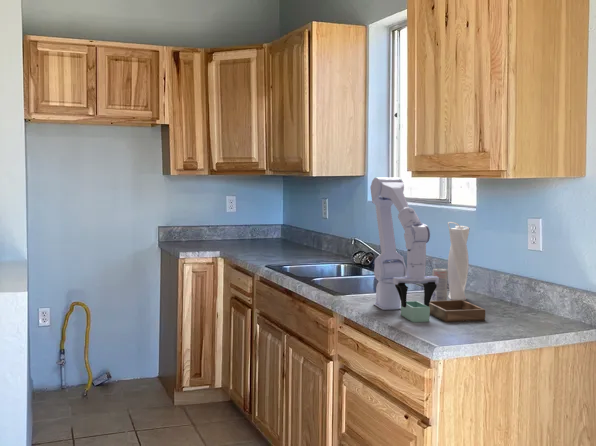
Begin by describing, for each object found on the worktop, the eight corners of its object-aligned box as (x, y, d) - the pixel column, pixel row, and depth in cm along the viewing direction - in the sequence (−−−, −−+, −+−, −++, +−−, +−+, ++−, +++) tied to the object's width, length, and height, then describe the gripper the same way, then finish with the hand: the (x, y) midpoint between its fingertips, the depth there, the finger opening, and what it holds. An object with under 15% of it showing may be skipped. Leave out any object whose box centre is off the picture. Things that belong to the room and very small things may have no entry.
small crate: (400, 315, 221) (400, 301, 221) (416, 314, 222) (417, 300, 222) (412, 322, 211) (413, 307, 211) (429, 321, 213) (429, 307, 212)
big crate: (425, 311, 227) (425, 301, 227) (462, 310, 230) (462, 299, 230) (445, 322, 212) (445, 311, 212) (484, 320, 215) (485, 309, 215)
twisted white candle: (447, 300, 247) (450, 222, 244) (443, 296, 254) (445, 220, 252) (469, 300, 247) (472, 222, 244) (464, 296, 254) (467, 221, 252)
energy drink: (444, 301, 244) (445, 268, 243) (448, 304, 239) (449, 270, 238) (429, 301, 244) (430, 268, 243) (433, 304, 238) (434, 270, 237)
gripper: (399, 265, 210) (398, 309, 211) (443, 264, 213) (442, 307, 214) (390, 262, 217) (390, 305, 218) (433, 261, 220) (432, 303, 221)
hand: (415, 306), depth 216 cm, fingers open, 7 cm apart
